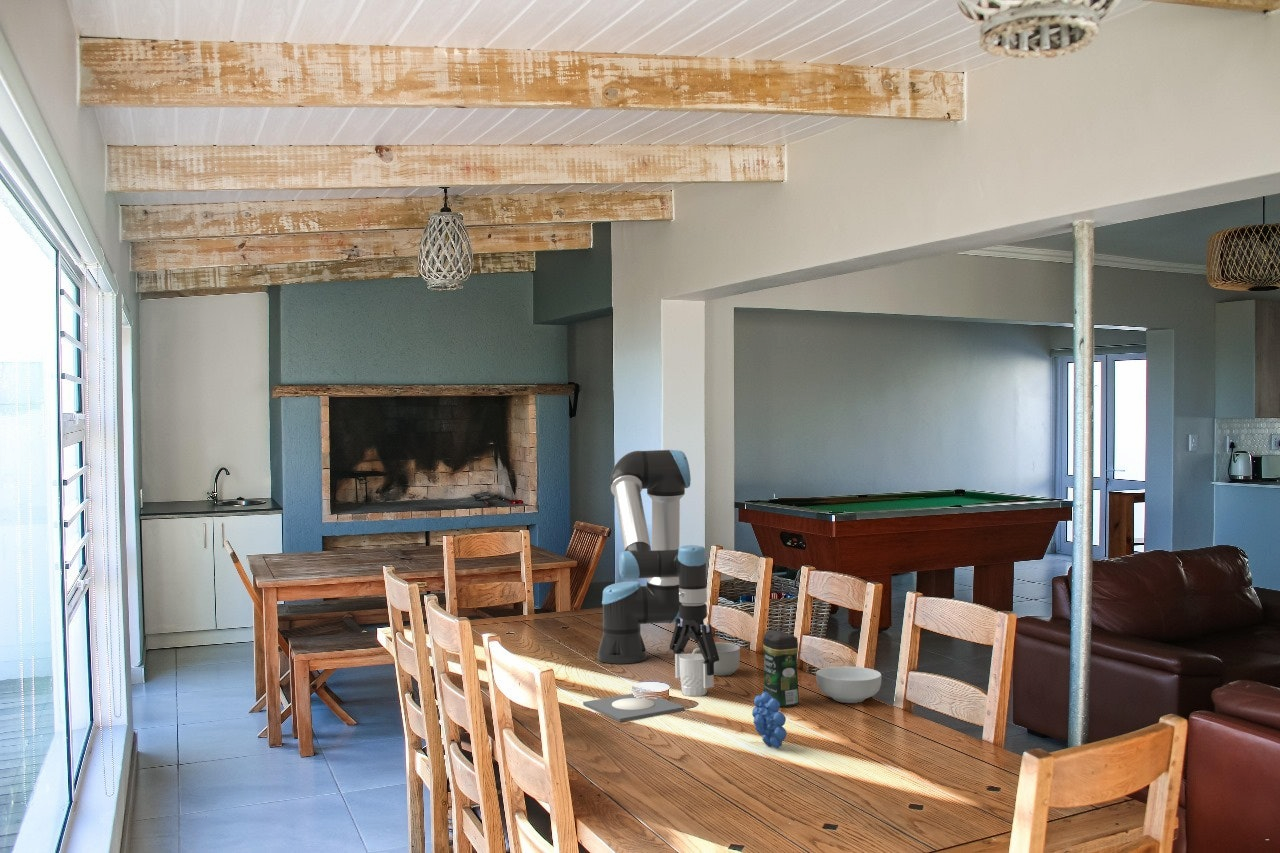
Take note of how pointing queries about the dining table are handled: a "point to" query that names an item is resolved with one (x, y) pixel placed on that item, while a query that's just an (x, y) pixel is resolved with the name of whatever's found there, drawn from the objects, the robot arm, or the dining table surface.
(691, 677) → the white cup
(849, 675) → the cereal bowl
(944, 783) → the dining table surface
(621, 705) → the mat
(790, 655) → the coffee jar
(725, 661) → the teacup
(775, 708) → the grapes
